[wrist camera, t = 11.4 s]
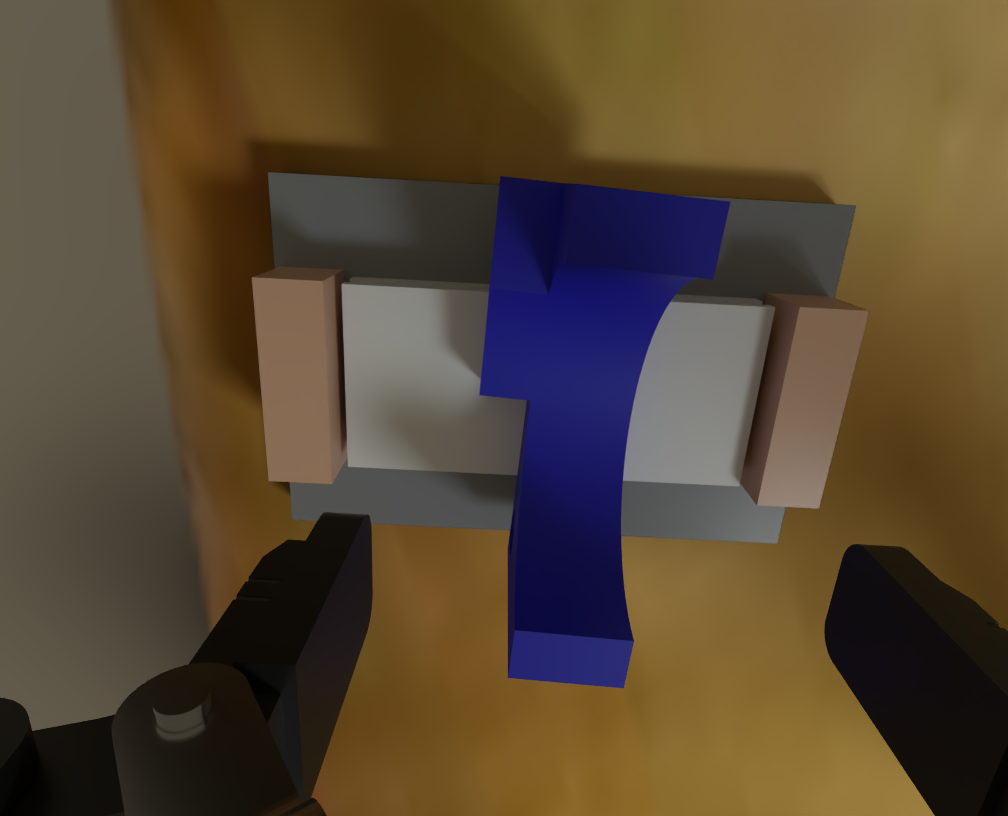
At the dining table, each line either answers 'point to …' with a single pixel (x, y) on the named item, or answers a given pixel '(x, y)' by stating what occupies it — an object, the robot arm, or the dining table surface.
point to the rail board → (468, 254)
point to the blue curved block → (579, 399)
